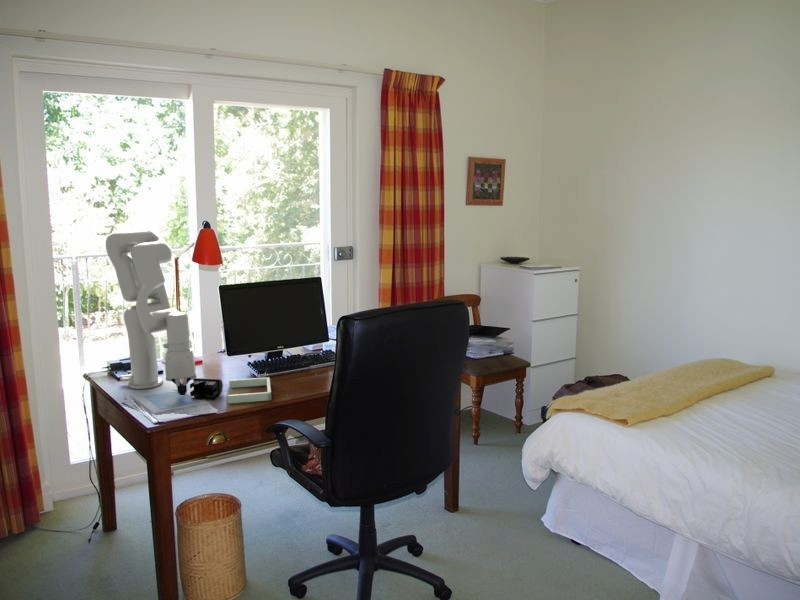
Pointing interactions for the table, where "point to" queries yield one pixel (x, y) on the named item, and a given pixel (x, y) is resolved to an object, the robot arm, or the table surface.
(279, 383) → the table surface
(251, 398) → the holder
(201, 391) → the end cap
